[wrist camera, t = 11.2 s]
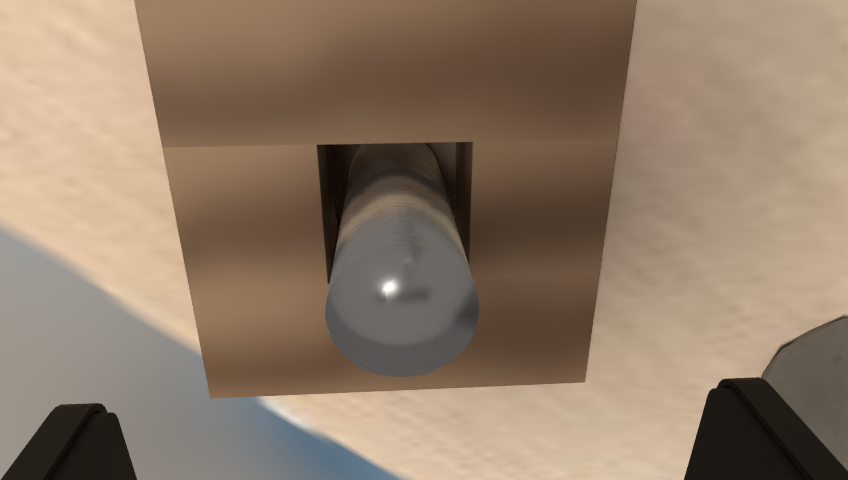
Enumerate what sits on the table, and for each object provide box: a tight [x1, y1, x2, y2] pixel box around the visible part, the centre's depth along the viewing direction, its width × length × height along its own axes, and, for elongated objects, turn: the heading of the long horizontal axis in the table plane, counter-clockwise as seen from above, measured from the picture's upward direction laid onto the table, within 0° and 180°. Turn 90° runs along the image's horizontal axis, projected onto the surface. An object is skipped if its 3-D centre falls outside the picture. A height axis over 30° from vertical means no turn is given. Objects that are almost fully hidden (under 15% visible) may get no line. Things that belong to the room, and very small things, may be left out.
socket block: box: [134, 0, 637, 398], centre depth 24 cm, size 16×16×5 cm
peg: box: [325, 143, 479, 377], centre depth 20 cm, size 4×4×12 cm
